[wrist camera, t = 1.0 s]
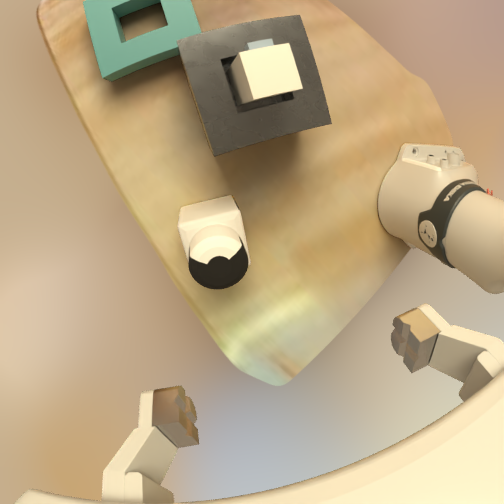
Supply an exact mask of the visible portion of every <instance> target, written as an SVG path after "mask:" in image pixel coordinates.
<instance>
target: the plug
mask: <svg viewBox="0 0 504 504" xmlns="http://www.w3.org/2000/svg"><path fill="white" fill-rule="evenodd" d="M244 49H245V51H243V52H239V53H238V55H237V56H236V58H235V59H234V61H233V62H232V64H231V66H230V67H229V69H228V70H227V74H228V77H229V80H230V83H231V87H232V90H233V93H234V96H235V99H236V102H237V106H238V105H242V104H245V103H249V102H253V101H257V100H260V99H264V98H269V97H273V96H276V95H280V94H284V93H287V92H291V91H295V90H299V89H303V87H302V84H301V80H300V77H299V73H298V70H297V67H296V63H295V60H294V57H293V54H292V51H291V48H290V45H289V43H286V44H279V45H274V44H273V41H272V38H271V39H265V40H260V41H255V42H250V43H247V44H246V46H245V47H244Z"/></svg>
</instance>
